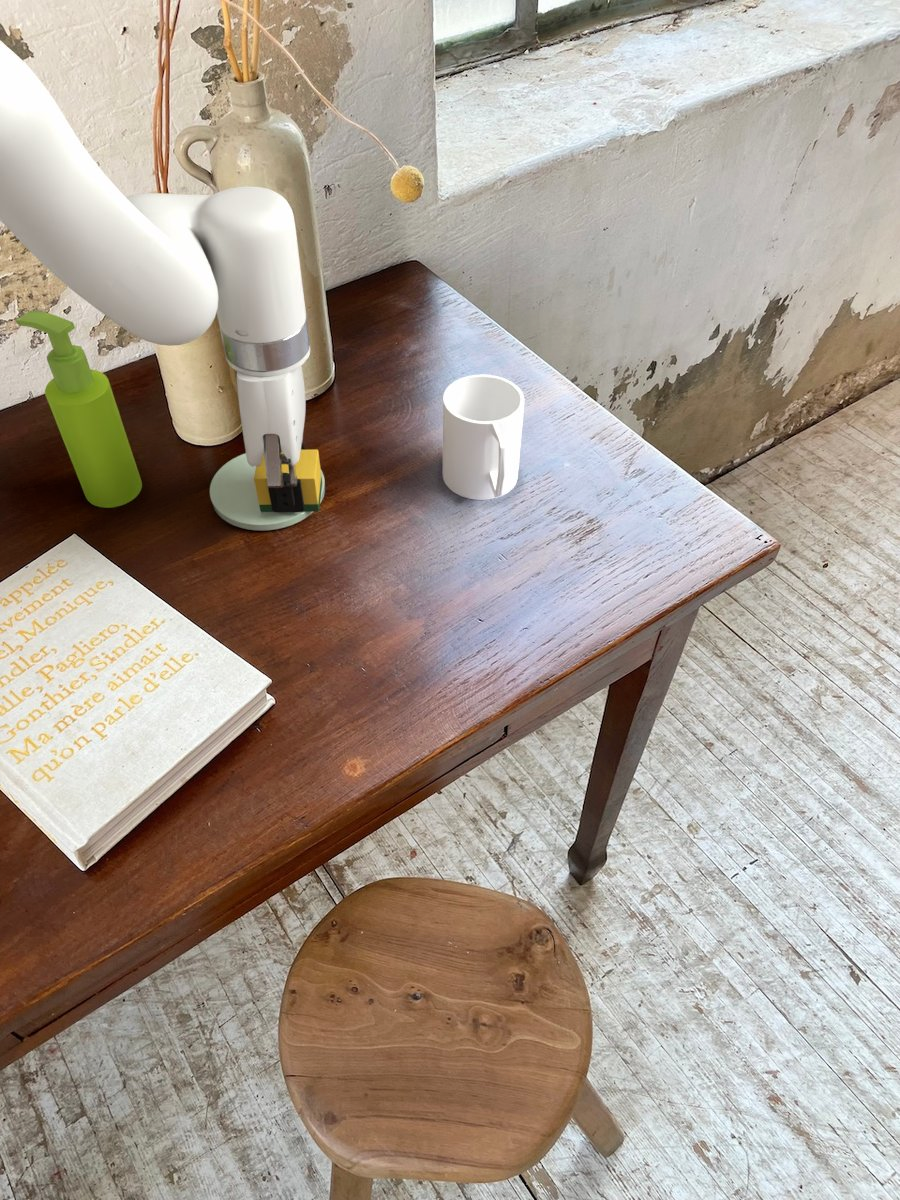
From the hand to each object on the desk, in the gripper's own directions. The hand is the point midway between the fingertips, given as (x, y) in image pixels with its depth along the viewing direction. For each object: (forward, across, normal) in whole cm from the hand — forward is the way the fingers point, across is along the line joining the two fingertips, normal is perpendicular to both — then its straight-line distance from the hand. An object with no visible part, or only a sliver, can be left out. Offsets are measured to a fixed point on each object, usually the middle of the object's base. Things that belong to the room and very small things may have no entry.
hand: (290, 491), depth 93 cm
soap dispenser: (+2, -3, -20) cm, 20 cm away
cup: (+2, -3, +20) cm, 21 cm away
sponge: (+1, 0, 0) cm, 1 cm away
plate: (+2, -2, -3) cm, 4 cm away
